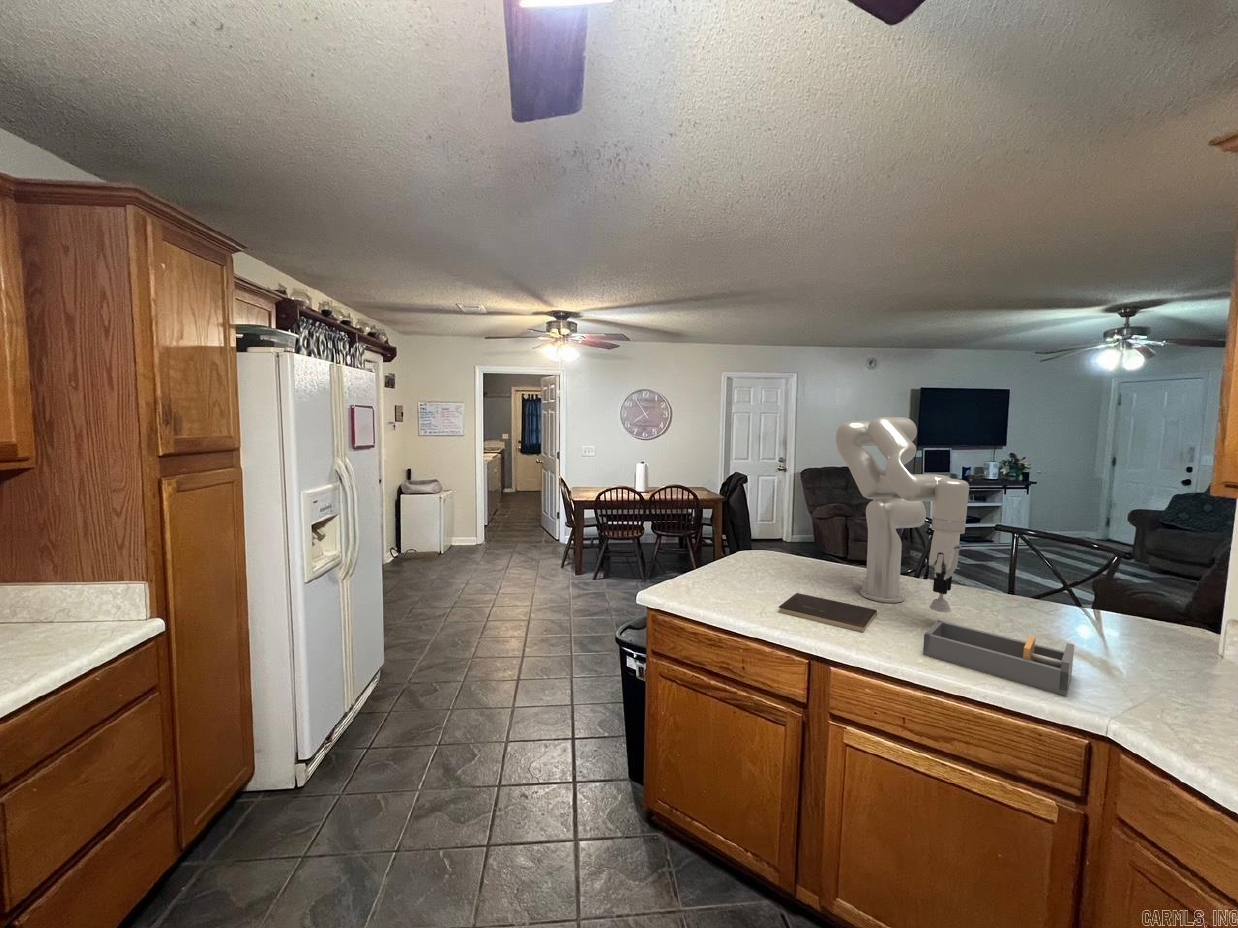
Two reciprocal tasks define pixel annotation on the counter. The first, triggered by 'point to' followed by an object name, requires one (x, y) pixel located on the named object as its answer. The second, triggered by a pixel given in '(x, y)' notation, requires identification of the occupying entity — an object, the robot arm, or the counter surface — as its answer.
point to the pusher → (1030, 655)
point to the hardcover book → (829, 611)
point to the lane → (999, 656)
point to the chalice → (940, 603)
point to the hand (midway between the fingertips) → (941, 590)
